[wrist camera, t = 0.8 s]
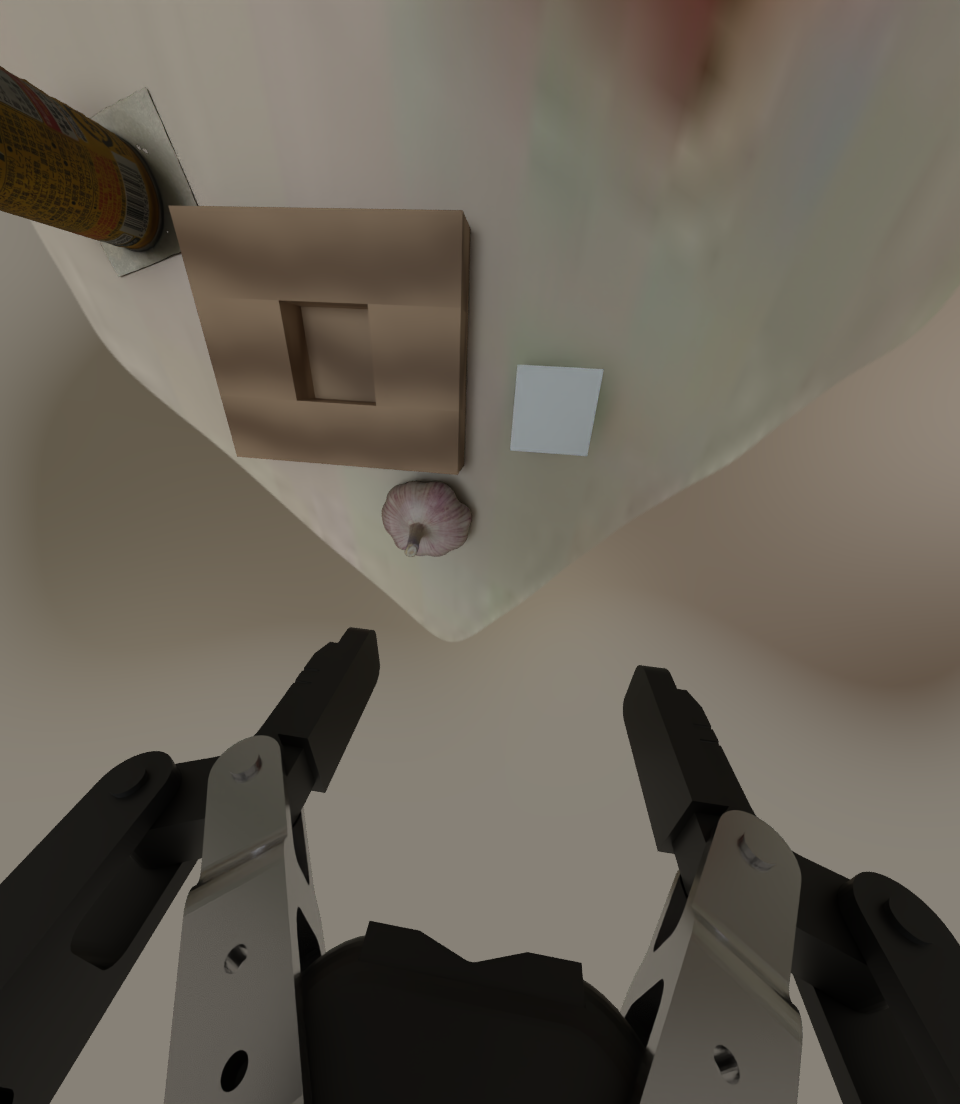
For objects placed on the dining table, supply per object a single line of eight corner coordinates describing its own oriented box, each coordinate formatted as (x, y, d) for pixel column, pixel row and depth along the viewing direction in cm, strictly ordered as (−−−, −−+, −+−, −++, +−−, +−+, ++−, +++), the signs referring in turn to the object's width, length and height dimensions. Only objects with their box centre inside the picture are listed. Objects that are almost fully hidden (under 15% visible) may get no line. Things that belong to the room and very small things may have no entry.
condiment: (48, 142, 23) (-364, -52, 12) (148, 89, 21) (-232, -191, 11) (121, 277, 26) (-157, 215, 15) (214, 241, 24) (-29, 142, 14)
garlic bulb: (489, 510, 31) (478, 552, 24) (439, 561, 34) (416, 611, 27) (422, 451, 29) (388, 477, 22) (376, 510, 32) (334, 550, 25)
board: (208, 223, 24) (168, 205, 21) (470, 229, 22) (462, 210, 20) (262, 449, 31) (237, 456, 28) (464, 465, 29) (457, 474, 27)
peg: (520, 365, 25) (516, 363, 17) (578, 368, 25) (605, 368, 16) (515, 424, 27) (509, 451, 18) (568, 428, 27) (587, 457, 18)
